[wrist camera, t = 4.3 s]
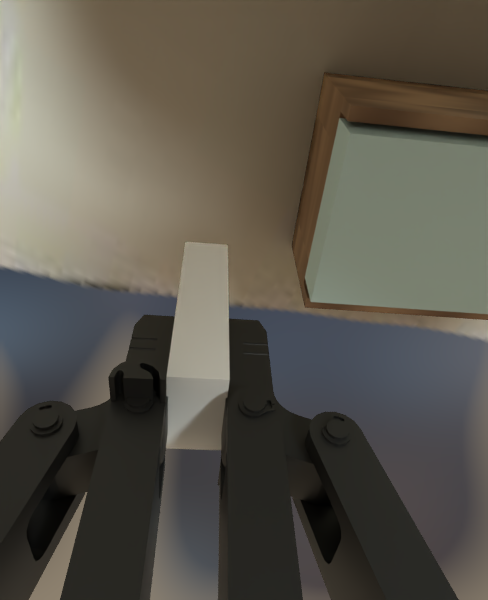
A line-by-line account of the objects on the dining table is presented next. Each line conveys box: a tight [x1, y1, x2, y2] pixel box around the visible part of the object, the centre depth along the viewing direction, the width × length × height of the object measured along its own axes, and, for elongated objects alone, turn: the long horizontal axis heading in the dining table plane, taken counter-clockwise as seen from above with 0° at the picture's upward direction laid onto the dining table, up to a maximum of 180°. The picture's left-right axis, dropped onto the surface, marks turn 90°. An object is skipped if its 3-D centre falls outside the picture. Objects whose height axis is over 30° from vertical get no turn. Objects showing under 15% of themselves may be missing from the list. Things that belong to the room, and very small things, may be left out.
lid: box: [305, 118, 488, 314], centre depth 22 cm, size 12×8×2 cm
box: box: [292, 73, 488, 320], centre depth 24 cm, size 14×10×6 cm
